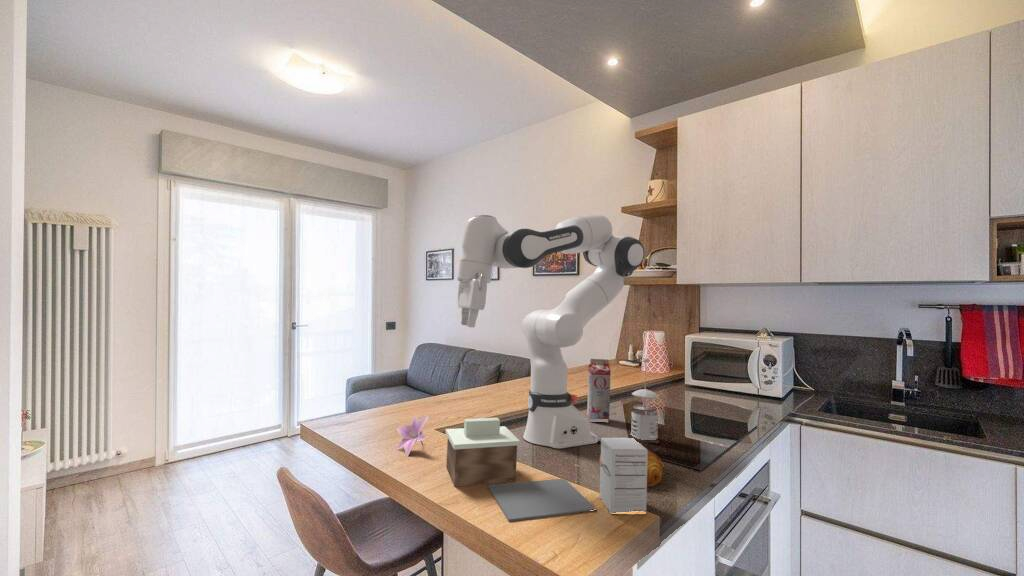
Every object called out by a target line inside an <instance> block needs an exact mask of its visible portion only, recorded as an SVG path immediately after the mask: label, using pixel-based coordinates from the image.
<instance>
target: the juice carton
mask: <svg viewBox="0 0 1024 576" xmlns="http://www.w3.org/2000/svg"><path fill="white" fill-rule="evenodd" d="M589 361H590V362H589V365H588V371H587V372H588V375H587V377H588V378H587V404H586V405H587V410H586V411H587V412H586V416H587V415H588V416H589V418H590V419H609V420H610V411H611V410H610V406H611V405H610V404H611V403H610V402H611V401H610V400H611V396H610V395H611V373H612V372H611V367H610V362H609V361H610V359H605V358H604V359H603V358H590V360H589Z"/></svg>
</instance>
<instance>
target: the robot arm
mask: <svg viewBox="0 0 1024 576" xmlns="http://www.w3.org/2000/svg"><path fill="white" fill-rule="evenodd" d="M464 229H465V230H464V233H463V239H462V244H461V245H462V246H461V247H462V254H461V257H460V259H459V265H458V272H457V282H459V283H458V289H457V290H458V292H457V307H458V308H459V309H461V312H460V314H461V315H460V316H461V320H460V324H461V325H462V326H467V327H468V328H475V326H476V321H477V319H478V315H479V311H483V310H484V309H485V307H486V301H487V290H488V284H490V283H491V280H492V273H493V266H494V267H498V268H499V269H504V270H505V269H506V270H507V269H518V268H521V269H529V268H532V267H534V266H536V265H537V264H539V263H540V262H541V261H542V260H543V259H544V258H545V257H547V256H549V255H550V256H551V255H553V254H556V253H560V252H561V253H563V254H564V255H569V254H570V255H571V254H573V255H574V254H580V253H582V256H583V258H584V261H585V262H586V263H587V264H589V265H591V266H593V267H597V268H596V269H595V270H594V272H593V273H592V274H590V275H589V276H587V277H586V278H585V279H584V280H582V281H581V282H580V283H578V284H577V285H575V286H574V287H572V288H571V289H570V290H569V291H568V292H566V294H565V296H564V299H563V300H562V302H561V303H560V304H558V306H556V307H554V308H552V309H537V310H534V311H531V312H529V313H528V314H527V315H526V316H525V317H524V318H523V321H522V325H521V329H522V332H523V335H524V337H525V339H526V343H527V348H528V354H529V359H530V385H529V387H530V389H529V390H528V397H527V399H528V400H527V406H528V415H527V420H526V426H525V429H524V433H523V436H522V438H523V439H524V440H525V441H527V442H528V443H531V444H535V445H539V446H544V447H545V446H546V447H550V448H554V449H566V448H572V447H573V448H574V447H579V446H586V445H591V444H597V442H598V443H599V438H598V436H597V435H596V434H595V433H593V432H592V431H591V424H590V421H589V420H588V418H587V416H586V415H585V414H583V413H582V412H581V411H580V410H579V409H578V408H576V407H575V406H574V405H573V404H572V402H573V403H577V402H578V401H579V397H578V396H577V395H575V394H571V393H570V392H567V391H568V390H567V389H568V387H567V386H568V366H567V363H566V361H565V360H564V357H563V354H562V350H561V349H563V348H568V347H572V346H575V345H576V344H578V343H579V342H580V341H581V339H582V336H583V334H584V328H585V326H586V325H587V324H588V322H590V320H592V318H594V317H595V316H597V314H598V313H600V312H601V311H602V310H603V309H605V307H607V306H608V305H610V304H611V302H612V301H614V299H615V298H617V296H618V295H619V294H620V293H621V291H622V290H623V288H624V285H625V283H624V278H626V277H629V276H631V275H633V273H634V271H636V270H637V269H639V267H640V266H641V264H642V262H643V261H644V259H645V246H644V244H643V243H642V242H641V240H639V239H637V238H635V237H632V236H622V235H618V234H613V226H612V222H611V221H610V220H609V218H608V217H606V216H604V215H601V214H586V215H585V214H583V215H576V216H574V217H570V218H567V219H564V220H562V221H560V222H559V223H557V224H556V226H555V229H551V230H546V231H537V230H534V229H530V228H520V229H517V230H515V231H511V232H510V231H508V230H506V229H505V228H504V227H503V226H502V225H501V223H499V221H498V220H497V218H496V217H495V216H492V215H489V214H488V215H486V214H484V215H483V214H481V215H475V216H473V217H471V218H469V219H468V220H467V222H466V225H465V227H464Z"/></svg>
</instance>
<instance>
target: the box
mask: <svg viewBox="0 0 1024 576" xmlns="http://www.w3.org/2000/svg"><path fill="white" fill-rule="evenodd" d="M446 445H447V447H446V448H447V449H446V466H445V468H446V471H447V472H448V476H449V478H450V479H451V483H452V485H453V487H461V486H472V485H473V486H474V485H484V484H495V483H505V482H504V481H508V482H512V481H511V480H516V481H517V461H518V460H517V458H518V455H517V454H518V445H517V446H501V447H486V448H470V449H455V450H454V448H453V447H452V445H451V443H450V441H449V439H448V438H447V444H446Z"/></svg>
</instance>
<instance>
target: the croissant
mask: <svg viewBox="0 0 1024 576" xmlns="http://www.w3.org/2000/svg"><path fill="white" fill-rule="evenodd" d="M647 450H648V459H647V488H649V487H654V486H656V485H657V484H658V483H660V482H661V481H662V479H663V475H664V470H663V468H664V467H665V465H664V463H663V460H661V458H660V457H659V455H657V454H655V453H654V452H653V451H651V450H650V449H647ZM598 462H599V463H598V464H599V467H600V466H601V454H600V455H599V460H598Z"/></svg>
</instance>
